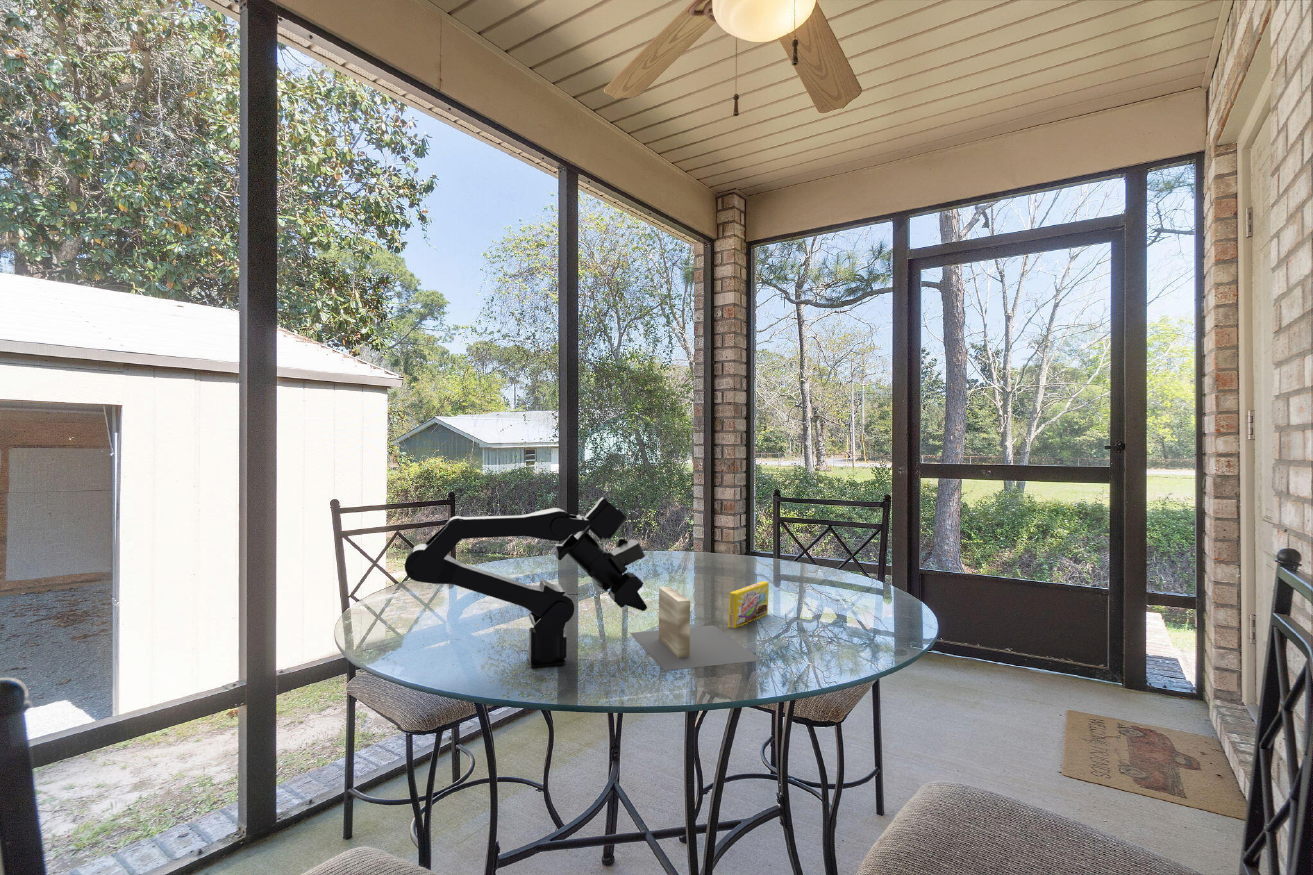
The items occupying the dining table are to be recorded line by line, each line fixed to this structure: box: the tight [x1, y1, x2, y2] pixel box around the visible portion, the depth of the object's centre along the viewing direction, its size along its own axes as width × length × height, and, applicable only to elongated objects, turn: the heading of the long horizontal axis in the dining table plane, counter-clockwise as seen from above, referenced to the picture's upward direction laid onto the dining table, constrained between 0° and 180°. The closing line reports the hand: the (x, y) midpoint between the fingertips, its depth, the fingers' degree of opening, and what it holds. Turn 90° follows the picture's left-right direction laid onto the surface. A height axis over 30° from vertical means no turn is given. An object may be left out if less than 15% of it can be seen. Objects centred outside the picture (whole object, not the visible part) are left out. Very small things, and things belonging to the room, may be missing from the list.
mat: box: [629, 625, 762, 672], centre depth 132 cm, size 20×24×1 cm
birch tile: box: [658, 586, 691, 658], centre depth 131 cm, size 2×12×11 cm, turn 18°
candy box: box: [727, 580, 770, 629], centre depth 152 cm, size 16×2×8 cm, turn 143°
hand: (645, 609), depth 129 cm, fingers closed
